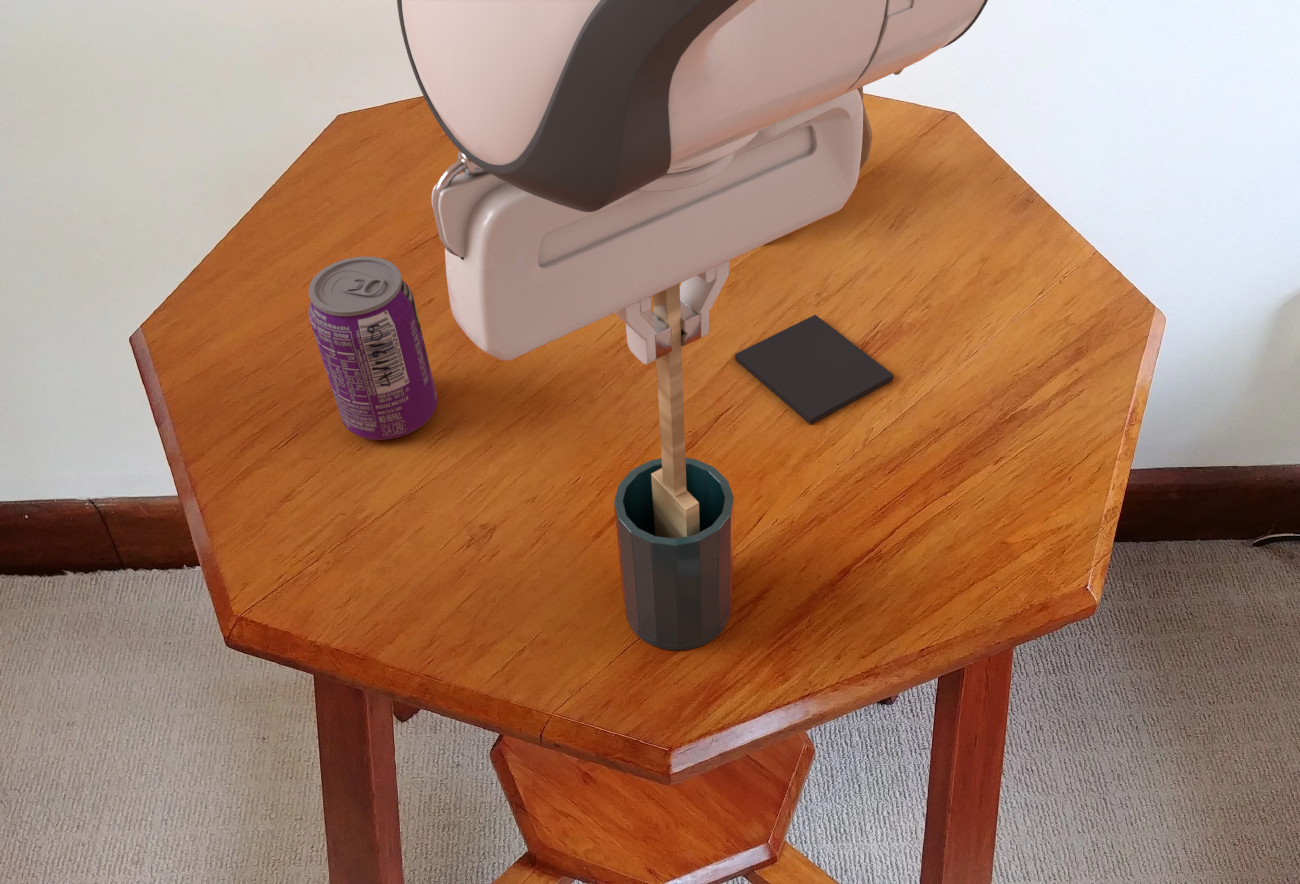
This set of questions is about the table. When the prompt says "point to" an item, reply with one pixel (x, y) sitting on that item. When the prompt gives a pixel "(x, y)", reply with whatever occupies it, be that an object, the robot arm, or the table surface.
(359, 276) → the beverage can
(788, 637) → the table surface
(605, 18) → the robot arm
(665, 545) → the cup
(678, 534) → the wooden stir stick
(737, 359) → the mat
